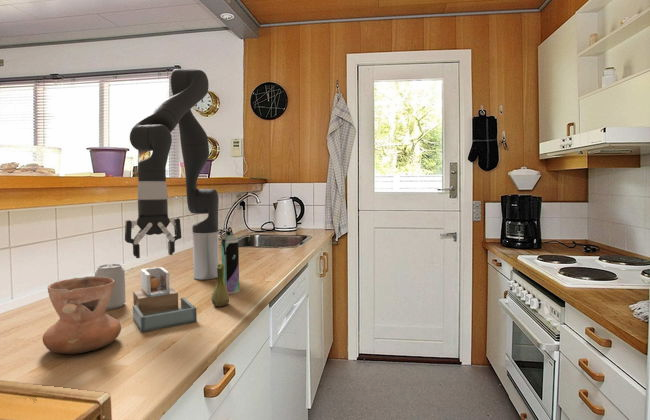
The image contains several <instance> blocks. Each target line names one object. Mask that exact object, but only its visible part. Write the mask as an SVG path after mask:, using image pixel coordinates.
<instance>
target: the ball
mask: <svg viewBox="0 0 650 420" xmlns="http://www.w3.org/2000/svg"><path fill="white" fill-rule="evenodd" d="M150 283H151V289H156V288H158V287H159V285H160V281H159V280H158V279H157V278H152V279H150Z"/></svg>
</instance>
